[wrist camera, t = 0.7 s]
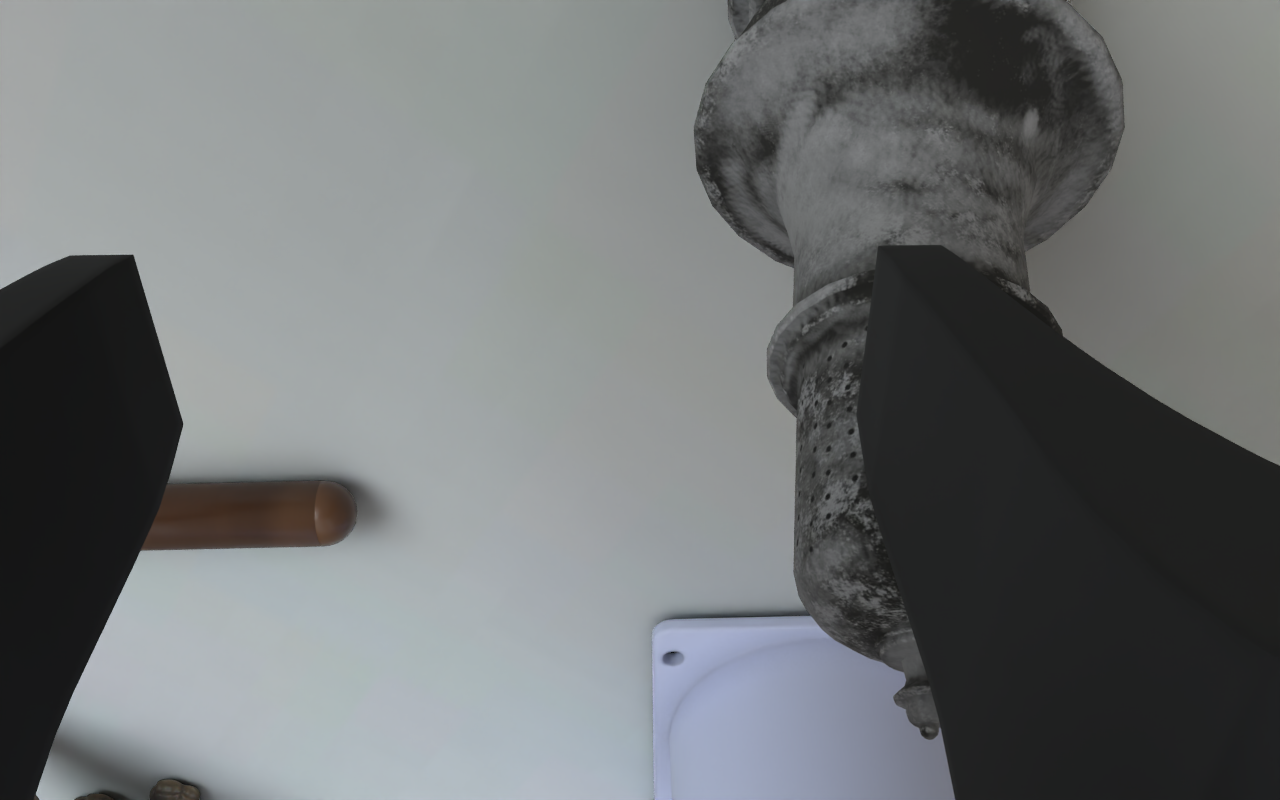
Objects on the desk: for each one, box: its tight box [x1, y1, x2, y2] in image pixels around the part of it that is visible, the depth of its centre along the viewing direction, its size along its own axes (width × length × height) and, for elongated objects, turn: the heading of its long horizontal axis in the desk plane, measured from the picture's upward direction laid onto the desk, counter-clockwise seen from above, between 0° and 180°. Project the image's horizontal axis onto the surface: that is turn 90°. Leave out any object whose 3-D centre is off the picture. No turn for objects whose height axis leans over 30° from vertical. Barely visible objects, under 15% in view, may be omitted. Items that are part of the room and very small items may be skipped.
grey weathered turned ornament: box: [694, 0, 1125, 740], centre depth 15 cm, size 6×6×12 cm
